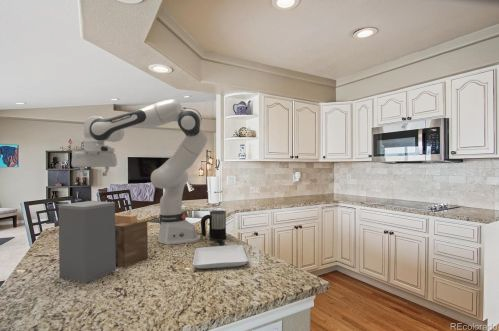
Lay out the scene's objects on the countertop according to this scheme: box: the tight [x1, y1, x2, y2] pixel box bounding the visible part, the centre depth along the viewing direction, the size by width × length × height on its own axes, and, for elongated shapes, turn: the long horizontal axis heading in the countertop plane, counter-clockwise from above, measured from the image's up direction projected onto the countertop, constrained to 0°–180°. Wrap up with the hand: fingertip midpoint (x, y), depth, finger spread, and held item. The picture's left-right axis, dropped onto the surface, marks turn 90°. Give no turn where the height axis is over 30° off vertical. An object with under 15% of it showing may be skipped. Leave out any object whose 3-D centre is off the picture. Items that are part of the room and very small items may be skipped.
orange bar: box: [115, 213, 138, 224], centre depth 116 cm, size 22×3×3 cm, turn 66°
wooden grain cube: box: [115, 219, 149, 268], centre depth 113 cm, size 14×12×16 cm
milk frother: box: [200, 210, 227, 246], centre depth 140 cm, size 14×16×15 cm
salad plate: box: [192, 244, 249, 270], centre depth 111 cm, size 21×21×3 cm
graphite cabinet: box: [58, 200, 117, 284], centre depth 99 cm, size 14×12×26 cm
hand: (94, 176), depth 134 cm, fingers open, 8 cm apart
